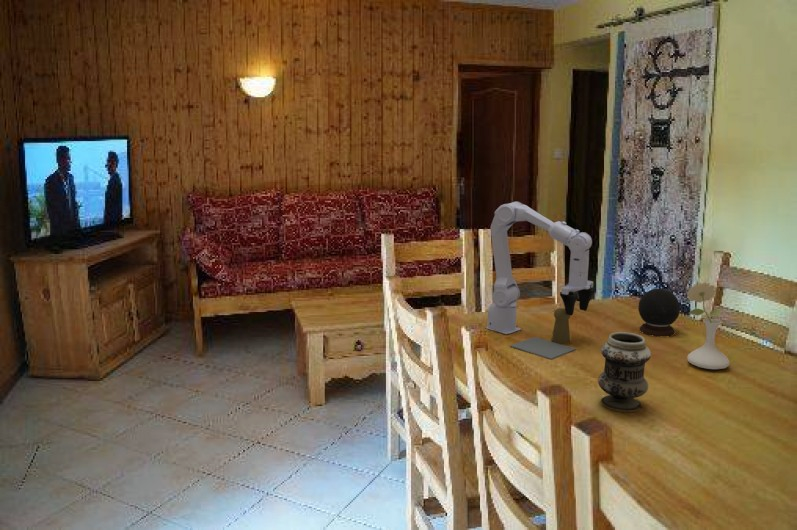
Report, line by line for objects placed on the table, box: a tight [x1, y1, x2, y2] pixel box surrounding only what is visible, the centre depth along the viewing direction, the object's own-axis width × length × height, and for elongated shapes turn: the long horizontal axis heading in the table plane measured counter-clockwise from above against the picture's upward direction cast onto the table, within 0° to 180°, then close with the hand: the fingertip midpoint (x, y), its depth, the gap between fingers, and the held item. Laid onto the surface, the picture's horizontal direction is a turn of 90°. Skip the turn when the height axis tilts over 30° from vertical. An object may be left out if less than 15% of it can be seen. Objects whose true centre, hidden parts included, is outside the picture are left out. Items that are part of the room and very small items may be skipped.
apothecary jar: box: [597, 331, 652, 413], centre depth 164 cm, size 12×12×18 cm
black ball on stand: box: [637, 288, 681, 337], centre depth 222 cm, size 13×13×15 cm
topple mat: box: [509, 336, 577, 360], centre depth 208 cm, size 16×13×1 cm
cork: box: [551, 307, 571, 345], centre depth 213 cm, size 6×6×11 cm
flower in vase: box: [686, 281, 731, 370], centre depth 190 cm, size 13×11×25 cm
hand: (576, 312), depth 211 cm, fingers open, 7 cm apart
